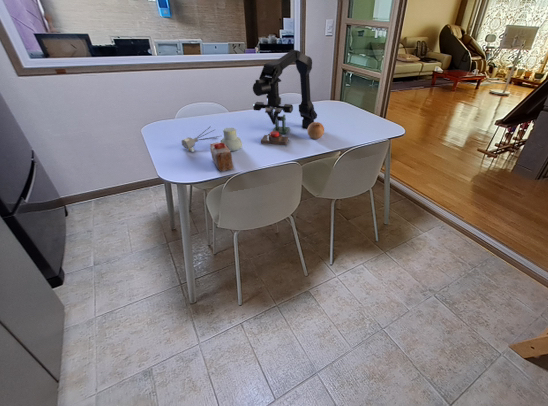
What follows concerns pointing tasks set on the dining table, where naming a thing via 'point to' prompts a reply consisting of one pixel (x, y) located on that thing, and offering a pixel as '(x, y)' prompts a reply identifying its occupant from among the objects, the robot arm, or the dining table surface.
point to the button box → (274, 140)
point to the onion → (315, 130)
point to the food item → (221, 156)
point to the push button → (274, 134)
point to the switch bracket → (281, 129)
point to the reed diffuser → (193, 142)
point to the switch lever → (279, 118)
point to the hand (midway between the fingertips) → (274, 124)
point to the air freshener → (231, 139)
